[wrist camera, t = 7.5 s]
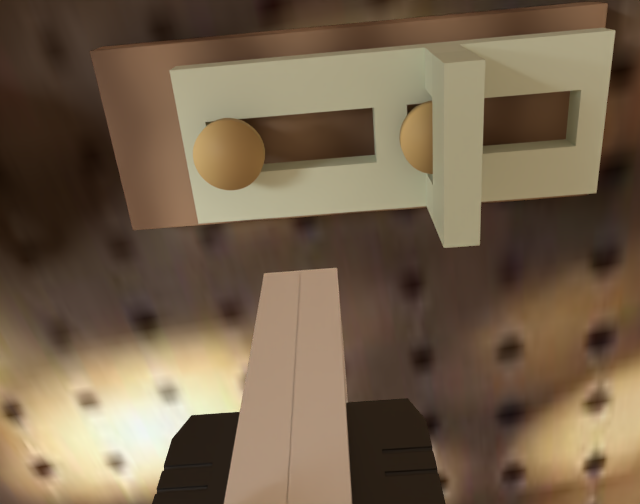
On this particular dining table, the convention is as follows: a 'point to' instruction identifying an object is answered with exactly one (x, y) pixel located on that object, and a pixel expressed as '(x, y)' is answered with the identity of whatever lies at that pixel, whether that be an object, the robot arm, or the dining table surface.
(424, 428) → the robot arm
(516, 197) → the panel
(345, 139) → the rail
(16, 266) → the dining table surface
